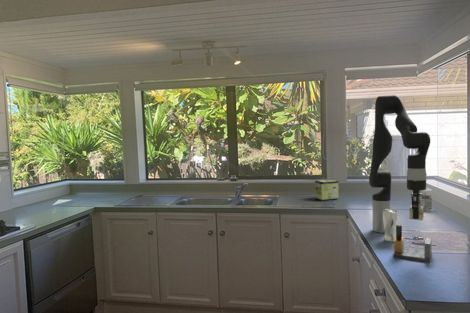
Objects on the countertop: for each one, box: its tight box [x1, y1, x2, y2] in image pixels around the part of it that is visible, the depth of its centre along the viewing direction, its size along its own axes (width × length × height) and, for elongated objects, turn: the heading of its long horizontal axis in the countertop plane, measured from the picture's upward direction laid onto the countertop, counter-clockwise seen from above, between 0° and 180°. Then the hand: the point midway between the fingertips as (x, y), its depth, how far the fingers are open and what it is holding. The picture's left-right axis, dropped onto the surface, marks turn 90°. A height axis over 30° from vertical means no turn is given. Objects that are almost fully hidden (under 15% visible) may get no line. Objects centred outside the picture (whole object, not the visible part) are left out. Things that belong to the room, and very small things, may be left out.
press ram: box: [393, 224, 405, 253], centre depth 162 cm, size 7×3×11 cm, turn 148°
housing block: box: [409, 205, 425, 221], centre depth 158 cm, size 5×5×5 cm
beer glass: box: [383, 208, 399, 243], centre depth 182 cm, size 7×7×15 cm
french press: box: [420, 173, 434, 213], centre depth 246 cm, size 10×12×25 cm
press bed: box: [392, 236, 432, 263], centre depth 159 cm, size 12×14×8 cm
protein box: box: [314, 179, 339, 202], centre depth 295 cm, size 10×16×16 cm
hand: (416, 217), depth 158 cm, fingers closed on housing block, 5 cm apart
